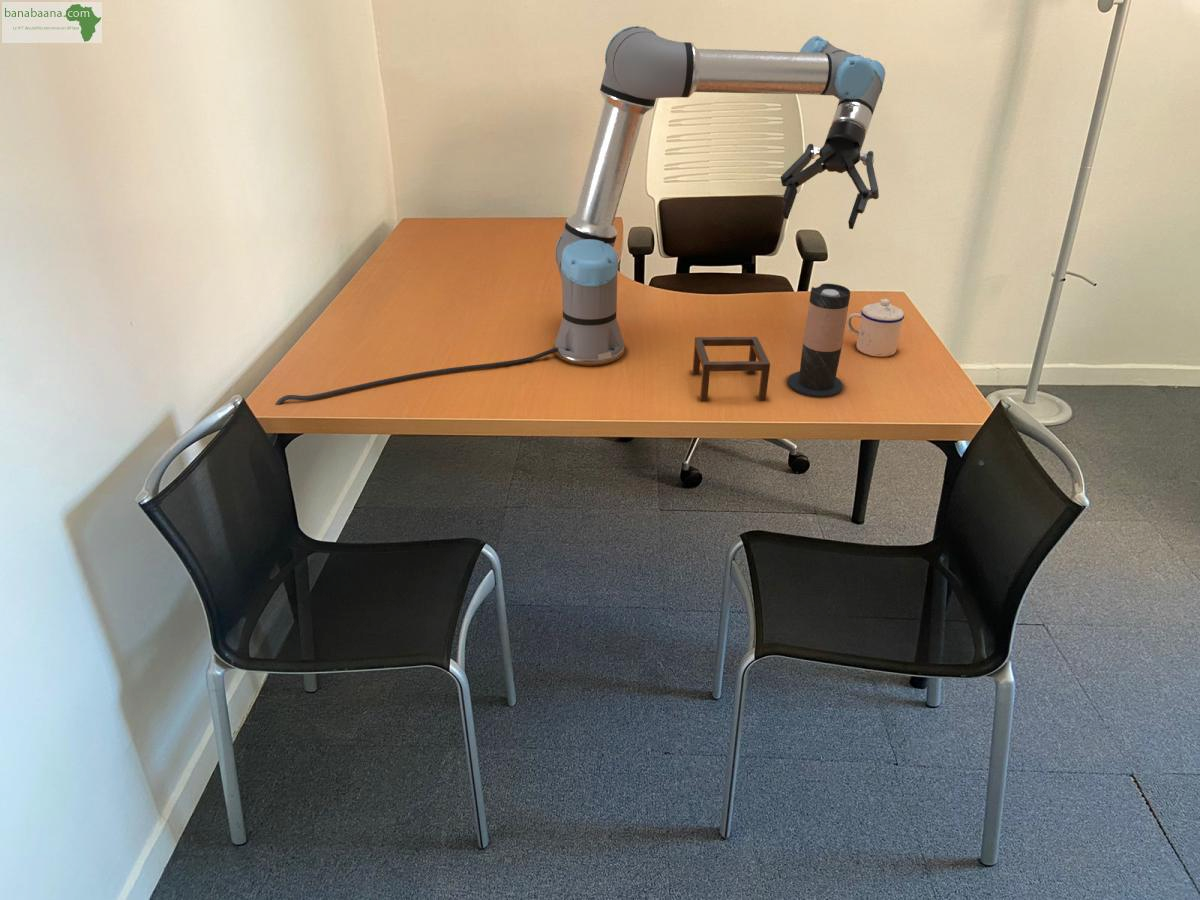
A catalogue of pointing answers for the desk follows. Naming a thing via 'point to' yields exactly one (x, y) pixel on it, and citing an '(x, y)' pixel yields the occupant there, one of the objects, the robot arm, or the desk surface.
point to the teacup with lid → (878, 328)
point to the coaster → (796, 386)
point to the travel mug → (823, 336)
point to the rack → (747, 366)
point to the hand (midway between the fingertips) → (817, 220)
